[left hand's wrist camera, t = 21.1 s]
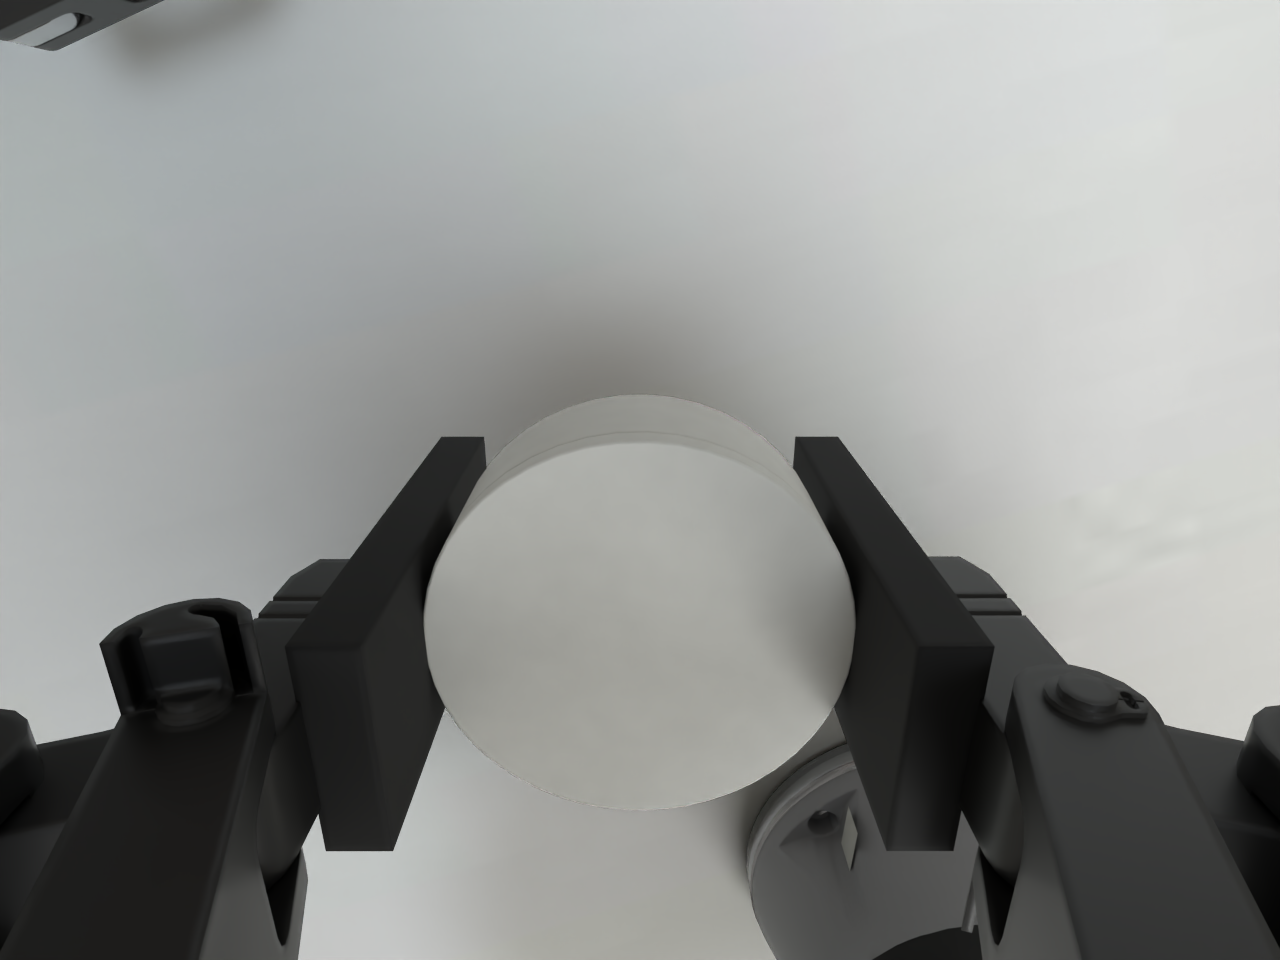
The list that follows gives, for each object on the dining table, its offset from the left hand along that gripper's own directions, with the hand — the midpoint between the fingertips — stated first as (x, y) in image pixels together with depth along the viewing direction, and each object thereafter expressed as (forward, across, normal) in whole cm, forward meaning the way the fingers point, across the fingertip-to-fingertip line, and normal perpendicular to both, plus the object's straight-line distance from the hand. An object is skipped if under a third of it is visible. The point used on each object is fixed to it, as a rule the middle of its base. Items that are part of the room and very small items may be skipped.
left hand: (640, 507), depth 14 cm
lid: (-4, 0, 0) cm, 4 cm away
